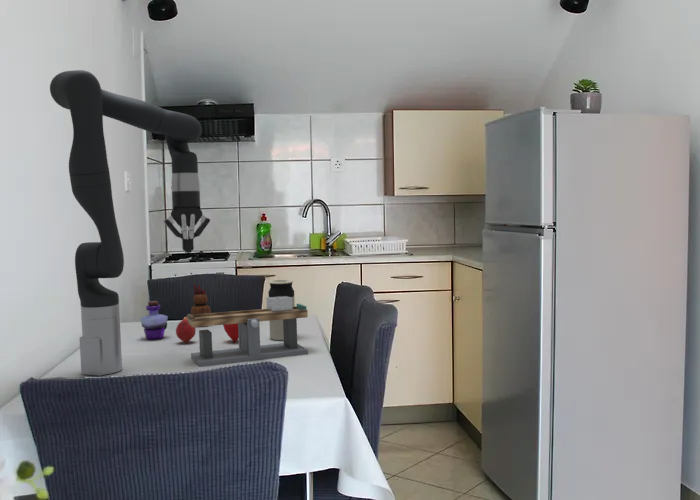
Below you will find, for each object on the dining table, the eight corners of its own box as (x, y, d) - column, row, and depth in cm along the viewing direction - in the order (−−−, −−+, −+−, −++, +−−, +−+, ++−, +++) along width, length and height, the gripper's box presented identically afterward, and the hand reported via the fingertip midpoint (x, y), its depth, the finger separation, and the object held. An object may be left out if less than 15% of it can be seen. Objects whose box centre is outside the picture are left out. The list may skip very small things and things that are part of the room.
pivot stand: (200, 367, 175) (198, 325, 175) (190, 356, 188) (188, 317, 187) (309, 354, 187) (307, 315, 186) (292, 345, 200) (291, 308, 199)
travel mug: (272, 341, 206) (270, 283, 204) (268, 336, 213) (266, 280, 212) (297, 339, 208) (296, 281, 207) (293, 334, 215) (291, 278, 214)
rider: (271, 314, 187) (271, 299, 187) (266, 311, 192) (266, 297, 191) (292, 312, 190) (292, 298, 189) (286, 309, 194) (286, 296, 194)
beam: (192, 327, 177) (192, 315, 177) (187, 322, 184) (186, 311, 184) (307, 317, 190) (307, 306, 189) (298, 313, 197) (298, 303, 197)
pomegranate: (190, 345, 204) (189, 318, 203) (173, 344, 205) (172, 318, 204) (199, 341, 209) (197, 315, 209) (181, 340, 211) (180, 315, 210)
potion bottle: (174, 337, 216) (173, 300, 215) (153, 342, 209) (151, 304, 208) (156, 334, 221) (154, 298, 220) (134, 339, 214) (133, 302, 213)
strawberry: (232, 345, 202) (231, 312, 201) (219, 341, 208) (218, 309, 207) (249, 342, 206) (248, 309, 205) (236, 338, 211) (235, 307, 211)
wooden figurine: (188, 327, 234) (186, 284, 233) (197, 324, 239) (195, 282, 238) (206, 327, 232) (204, 284, 231) (214, 324, 238) (212, 282, 236)
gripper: (163, 190, 180) (165, 254, 182) (212, 189, 186) (214, 252, 187) (159, 190, 187) (161, 253, 189) (206, 189, 193) (209, 250, 194)
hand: (188, 252), depth 188 cm, fingers closed
